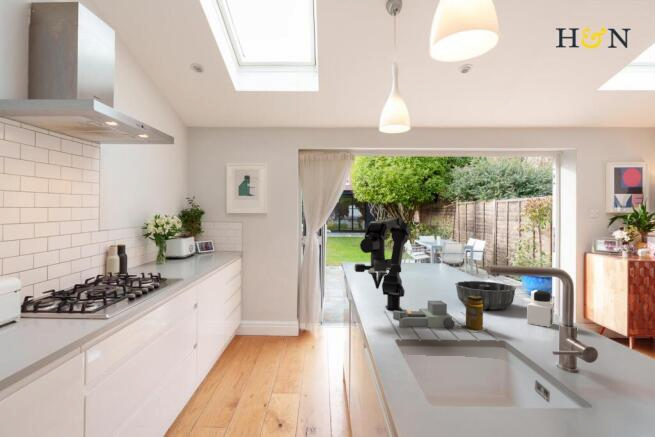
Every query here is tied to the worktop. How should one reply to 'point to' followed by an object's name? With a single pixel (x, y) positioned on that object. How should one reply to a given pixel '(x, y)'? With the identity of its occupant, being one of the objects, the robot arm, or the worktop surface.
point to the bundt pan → (487, 293)
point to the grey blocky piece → (427, 316)
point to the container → (540, 309)
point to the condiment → (474, 314)
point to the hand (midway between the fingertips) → (377, 288)
